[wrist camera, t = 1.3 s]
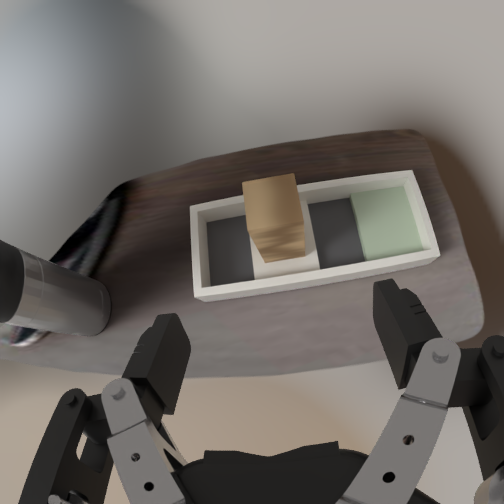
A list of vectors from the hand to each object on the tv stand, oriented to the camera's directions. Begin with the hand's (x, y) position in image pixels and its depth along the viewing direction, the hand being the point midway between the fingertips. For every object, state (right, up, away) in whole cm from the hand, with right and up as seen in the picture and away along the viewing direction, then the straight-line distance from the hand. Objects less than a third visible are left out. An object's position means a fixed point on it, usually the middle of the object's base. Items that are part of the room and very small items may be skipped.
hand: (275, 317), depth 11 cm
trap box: (+7, +4, +26) cm, 27 cm away
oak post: (+3, +4, +25) cm, 26 cm away
